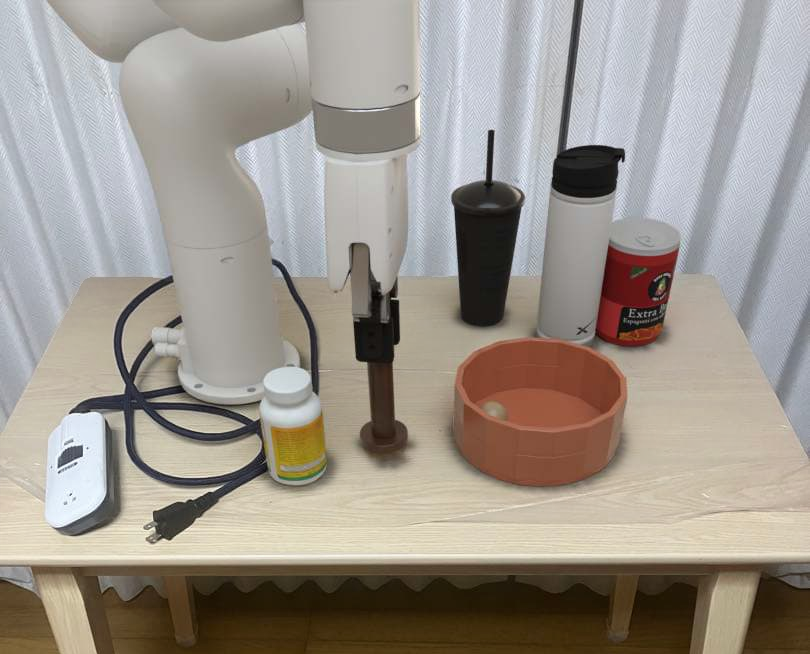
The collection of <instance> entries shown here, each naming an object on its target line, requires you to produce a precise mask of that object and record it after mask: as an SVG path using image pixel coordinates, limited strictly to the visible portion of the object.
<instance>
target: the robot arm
mask: <svg viewBox="0 0 810 654" xmlns="http://www.w3.org/2000/svg"><path fill="white" fill-rule="evenodd" d="M45 1H46V2H47V4H48V5H49V6H50V7H51V8H52V10H53V11H54V12H55V13H56V14H57V15H58V17H59V18H60V20H62V21H63V23H65V25H66V26H67V27H68V29H69V30H70V31H71V32H72V33H73V34H74V36H75V37H77V39H78V40H79V41H80V42H81V43H82V44H83V45H84V46H85V47H86V48H87V49H88V50H90V51H91V52H92V53H93V54H94V55H95V56H96V57H98V58H100V59H101V60H104V61H106V62H109V63H115V64H121V68H120V71H119V77H118V90H119V96H120V100H121V104H122V108H123V111H124V114H125V117H126V120H127V122H128V125H129V127H130V130H131V131H132V134H133V136H134V139H135V142H136V144H137V146H138V150H139V152H140V154H141V157H142V160H143V162H144V166H145V169H146V171H147V174H148V177H149V180H150V181H149V182H150V184H151V189H152V191H153V195H154V199H155V204H156V207H157V212H158V216H159V217H158V218H159V221H160V226H161V230H162V231H161V232H162V235H163V238H164V243H165V248H166V252H167V257H168V262H169V265H170V266H169V268H170V271H171V275H172V279H173V280H172V281H173V285H174V289H175V290H174V291H175V295H176V299H177V304H178V308H179V312H180V317H181V322H182V327H181V328H180V329H179V328H172V327H162V326H160V327H159V326H154V327H153V328H152V330H151V336H150V337H151V342H152V344H153V346H154V355H155V356H156V357H162V358H170V357H172V358H173V357H174V358H177V360H179V363H178V366H177V376H178V380H179V384H180V385H181V388H182V390H184V391H185V392H186V393H187V394H188V395H190V396H192V397H193V398H195V399H198V400H200V401H203V402H206V403H211V404H215V405H226V406H227V405H228V406H231V405H233V406H234V405H244V404H245V405H246V404H252V403H257V402H261V401H262V399H263V398H264V397H265V394H264V385H263V380H264V377H265V376H266V375H267V374H268V373H269V372H271V371H273V370H275V369H278V368H281V367H299V368H302V367H301V358H300V357H301V356H300V353H299V351H298V350H297V348H296V347H295V346H294V345H293V344H291V342H289V341H288V340H285V339H283V336H282V329H281V321H280V314H279V313H280V312H279V305H278V297H277V291H276V290H277V289H276V283H275V282H276V281H275V274H274V266H273V260H272V252H271V244H270V237H269V229H268V222H267V215H266V208H265V207H266V206H265V202H264V199H263V195H262V193H261V190H260V188H259V186H258V185H257V183H256V182H255V180H254V179H253V178H252V176H251V175H249V174H248V172H247V171H246V170H245V168H243V166H242V165H241V164H240V163H239V161H238V159H237V157H236V151H237V149H238V148H240V147H243V146H245V145H248V144H250V143H251V142H253V141H256V140H258V139H262V138H264V137H267V136H270V135H273V134H276V133H278V132H281V131H284V130H287V129H289V128H291V127H293V126H295V125H297V124H299V123H301V122H302V121H304V120H305V119H306V118H307V117H308V116H309V115H310V114H312V120H313V132H314V140H315V148H316V150H317V151H318V152H319V153H320V154H322V155H324V156H325V161H324V162H325V164H324V189H323V190H324V191H323V192H324V193H323V194H324V195H323V197H324V198H323V200H324V202H323V203H324V208H323V209H324V233H325V256H326V276H327V278H326V279H327V280H326V281H327V287H328V289H329V290H330V292H332V293H333V294H337V293H338V292H343V289H344V287H345V286H346V283H347V280H348V279H349V276H350V292H351V316H352V324H353V325H352V327H353V338H354V339H353V341H354V354H355V359H356V361H357V362H359V363H367V362H371V363H386V364H391V363H392V362H393V363H394V360H395V346H397V345H399V344H400V341H401V319H400V315H401V313H400V299H397V298H398V293H399V283H398V275H399V272H400V269H401V266H402V264H403V260H404V257H405V254H406V251H407V246H408V238H409V179H408V154H410V153H412V152H414V151H416V150H418V148H419V147H420V145H421V143H422V140H421V138H422V134H421V57H420V56H421V54H420V53H421V51H420V50H421V46H420V45H421V44H420V43H421V41H420V39H421V38H420V37H421V36H420V0H45ZM302 23H304V26H305V29H304V30H305V32H304V31H303V29H302V28H301V26H300V25H299V24H302ZM389 291H390V313H391V317H389ZM371 295H379V298H380V304H379V302H378V300H377V299H371Z"/></svg>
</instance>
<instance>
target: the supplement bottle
mask: <svg viewBox="0 0 810 654" xmlns="http://www.w3.org/2000/svg"><path fill="white" fill-rule="evenodd" d="M263 385H264V394H265V397H264V398H263V399H262V400H260V403H259V407H258V413H259V421H260V426H261V434H262V441H263V447H264V453H265V460H266V466H267V470H268V473H269V475H270V477H271V478H272V479H273V480H275V481H276V482H278V483H280V484H283V485H287V486H305V485H309V484H311V483H314V482H315V481H318V479H320V478H321V477H322V476H323V475H324V473H325V472H326V469H327V466H328V459H327V448H326V437H325V425H324V416H323V415H324V414H323V405H322V401H321V399H320V397H319V396H318V395H317V393H315V392H314V390H313V389H314V388H313V382H312V376H311V374H310V373H309V371H307V370H306V369H304V368H302V367H300V368H299V367H281V368H278V369H275V370H273V371H271V372H269V373H268V374H267V375H266V376H265V377H264V380H263Z"/></svg>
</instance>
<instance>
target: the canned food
mask: <svg viewBox="0 0 810 654" xmlns="http://www.w3.org/2000/svg"><path fill="white" fill-rule="evenodd" d="M681 237H682V236H681V233H680V231H679V230H678V229H677V228H675V227H674V226H673V225H671V224H669V223H667V222H665V221H661V220H659V219H654V218H648V217H625V218H619V219H616V220H614V221H613V220H612V224H611V230H610V237H609V244H608V250H607V257H606V263H605V270H604V277H603V283H602V290H601V297H600V303H599V310H598V317H597V323H596V328H595V335H597V336H598V337H599V338H601V339H602V340H604V341H607V342H609V343H611V344H613V345H618V346H624V347H639V346H644V345H648V344H650V343H652V342H654V341H655V340H656V339H657V338H658V337H659V335H660V333H661V332H662V330H663V326H664V324H665V323H664V322H665V318H666V313H667V308H668V305H669V304H668V303H669V300H670V294H671V290H672V285H673V281H674V277H675V276H674V275H675V271H676V267H677V261H678V257H679V252H680V246H681Z"/></svg>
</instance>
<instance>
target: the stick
mask: <svg viewBox="0 0 810 654" xmlns="http://www.w3.org/2000/svg"><path fill="white" fill-rule="evenodd" d="M371 299H377V300H378V302H379V304H380V298H379V295H371ZM389 317H391V313H390V291H389ZM366 369H367V382H368V397H369V415H370V420H369V421H367V422H366V423H364V425H362V427H361V428H360V430H359V442H360V445H361V447H362V448H363V450H365V451H366V452H368V453H371V454H373V455H379V456H388V455H393V454H396V453H399V452H400V451H402V450H403V449H404V448H405V447H407V445H408V442H409V430H408V428H407V425H406V424H404V423H403V422H402V421H400V420H398V419H396V406H395V405H396V404H395V384H394V383H395V381H394V361H393V362H392V363H391V364H386V363H371V362H366Z"/></svg>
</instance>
